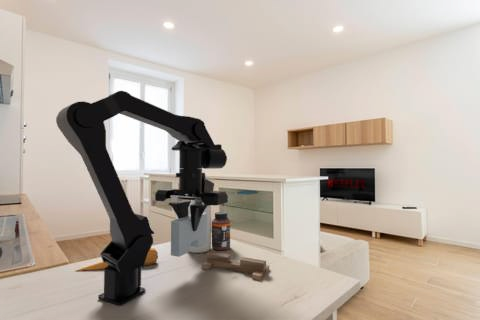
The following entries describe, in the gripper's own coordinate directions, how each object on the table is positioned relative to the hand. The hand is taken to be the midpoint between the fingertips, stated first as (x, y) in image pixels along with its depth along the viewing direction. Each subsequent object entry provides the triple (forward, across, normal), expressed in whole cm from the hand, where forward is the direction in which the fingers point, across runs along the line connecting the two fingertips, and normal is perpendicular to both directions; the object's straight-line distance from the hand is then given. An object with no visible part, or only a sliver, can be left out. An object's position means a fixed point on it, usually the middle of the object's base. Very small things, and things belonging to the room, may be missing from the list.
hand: (190, 230), depth 66 cm
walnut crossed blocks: (+10, -10, -6) cm, 15 cm away
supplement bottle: (+10, +2, -19) cm, 22 cm away
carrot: (+10, +19, +6) cm, 22 cm away
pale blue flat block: (+5, 0, 0) cm, 5 cm away
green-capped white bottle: (+10, +7, -15) cm, 19 cm away
